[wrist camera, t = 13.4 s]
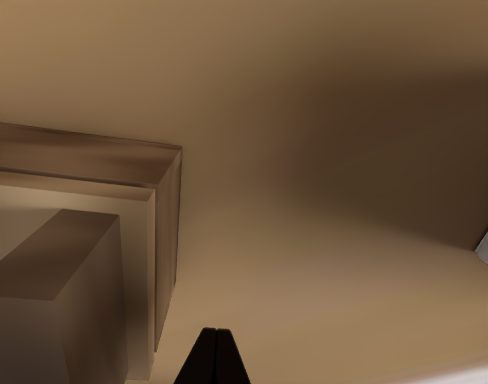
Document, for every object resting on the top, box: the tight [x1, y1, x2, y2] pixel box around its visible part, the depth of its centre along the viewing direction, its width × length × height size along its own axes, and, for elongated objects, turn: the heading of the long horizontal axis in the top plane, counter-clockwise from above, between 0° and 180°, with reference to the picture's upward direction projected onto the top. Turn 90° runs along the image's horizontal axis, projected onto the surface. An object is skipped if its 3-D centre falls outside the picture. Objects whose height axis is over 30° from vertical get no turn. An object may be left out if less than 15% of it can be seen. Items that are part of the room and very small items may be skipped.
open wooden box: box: [0, 123, 182, 352], centre depth 11 cm, size 13×8×4 cm, turn 82°
